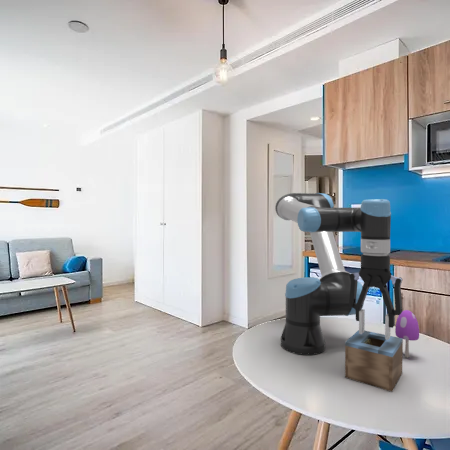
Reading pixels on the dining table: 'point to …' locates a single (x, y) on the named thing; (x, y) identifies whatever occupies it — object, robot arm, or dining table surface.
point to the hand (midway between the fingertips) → (374, 335)
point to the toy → (407, 328)
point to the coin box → (374, 359)
